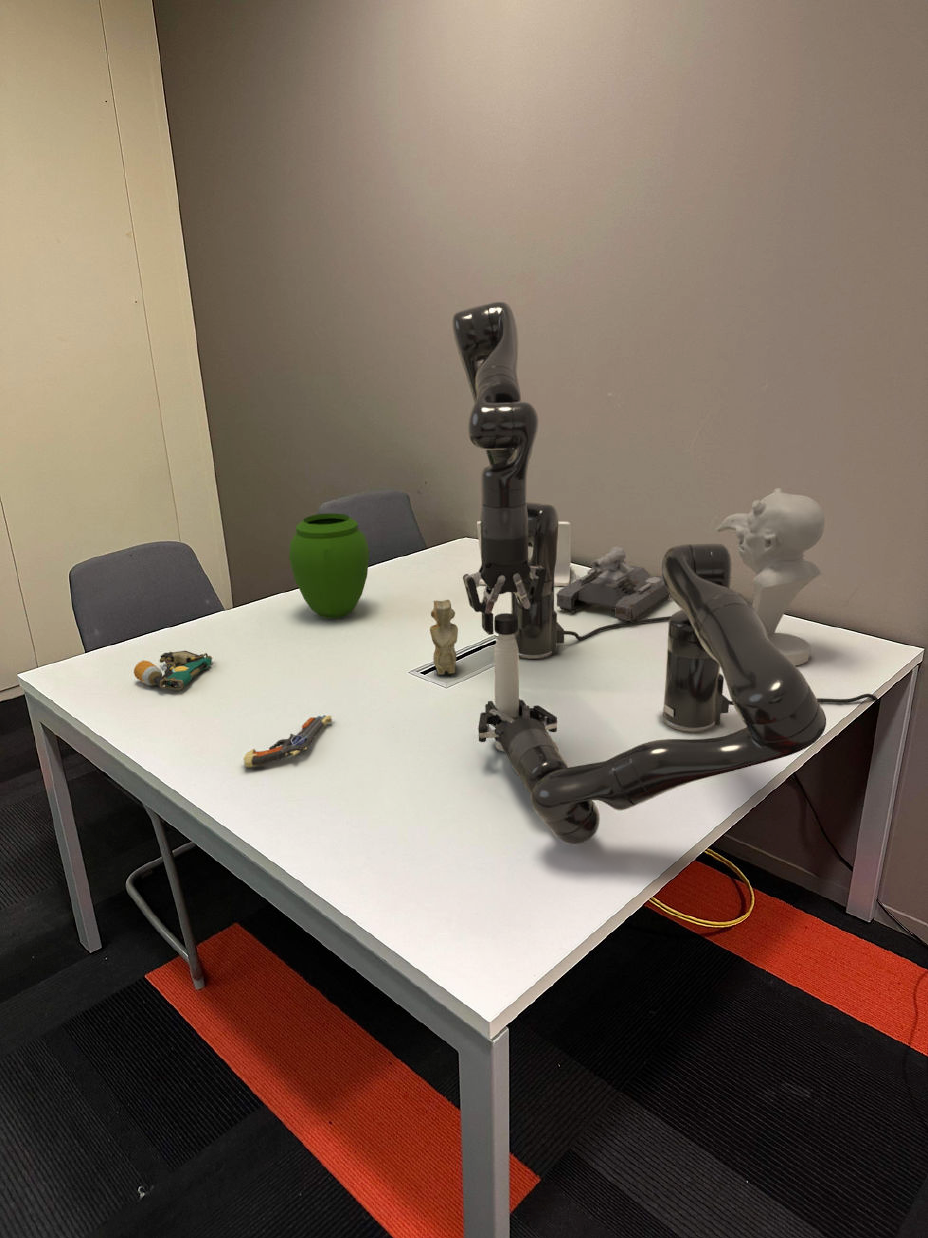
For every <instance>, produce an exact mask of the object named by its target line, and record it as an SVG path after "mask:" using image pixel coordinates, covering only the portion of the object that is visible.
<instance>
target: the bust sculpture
mask: <svg viewBox="0 0 928 1238" xmlns="http://www.w3.org/2000/svg"><path fill="white" fill-rule="evenodd" d="M825 522H826V521H825V513H824V511H823V509H822V508H821V506H820V505H819V504H818V502H816V500H814V499H812V498H811V497H809V496H806V495H802V494H791V493H786V492H784V491H783V489H782V488H780V487H777V488H775V489H774V490H773V492H772V493H770V494H768V495H767V496H765V497H763V498H762V499H761V500H759V499H757V500H754V501H753V502H752V504H751V510H750V512H749V513H743V512H739V513H734V514H730V515H729V516H727V517H726V518H725V519H724V520H723V521H722V522H721V524H719V525H718V526H717V527H716V529H715V530H716V532H718V533H721V532H725V531H729V530H733V531H735V535H736V538H737V539H738V540H739V541H738V542H737V544H736V547H737V550H738V553H739V557H740V558H741V559H742V562H743V563H744V565H746V566H747V567H748V568H750V570H752V572H753V573H755V575H756V576H755V577H754V578H753V580H752V586H753V590H754V592H755V594H756V595H755V597H754V599H753V601H752V603H751V605H752V606H753V608H754V609H755V611H756V612H757V613H758V615H759V616H760V618H761V619H762V621H763V623H764V625H765V628H766V630H767V637H768V639H769V640H770V641H771V643H772V644H773V645H774V646H775V647H776V648H777V649H778V650H779V651H780V652H781V653H782V654H783V655H784V656H785V657H786V658H787V659H788V660H790V661H791V662H792V663H793V664H794V665H795V666H796V667H797V666H800V665H803V664H805V663H806V662H808V661H809V659H810V650H811V645H810V643H809V642H808V641H807V640H806V639H803V638H802V637H800V636H796V635H793V634H789V633H785V632H784V633H783V632H776V630H777V628H778V626H779V623H780V622H781V620H782V618H783V616H784V615H785V613H786V611H788V608H789V607H790V605H791V604H792V603H793V601H794V600H795V598H796V597H797V596H798V594H799V593H800V592H801V591H802V589H804V588H805V587H806V586H807V585H808V584H809V583H811V582H812V581H814V580H815V579H816V578H818V577H820V576H822V575H823V572H822V570H821V569H820V568H819V567H818V565H816V563H814V562H812V561H809V560H805V559H804V557H805V554H804V553H805V552H806V551H808V550H810V549H812V548H813V547H815V546H816V545H817V544H818V543H819V542H820V540H821V539H822V536H823V534H824V531H825Z"/></svg>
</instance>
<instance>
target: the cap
mask: <svg viewBox="0 0 928 1238" xmlns="http://www.w3.org/2000/svg"><path fill="white" fill-rule="evenodd" d="M493 629H494V633H496V634H501V635H511V634H515V633H516V632H517V631H518V619H517V616H516V615H514V614H511V612H510V613H507V612H506V613H505V612H504V613H498V614H496V615H495V616H494V618H493Z"/></svg>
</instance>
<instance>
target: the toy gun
mask: <svg viewBox="0 0 928 1238" xmlns="http://www.w3.org/2000/svg"><path fill="white" fill-rule="evenodd" d="M332 720H333V717H332V716H331V715H325V714H324V715H322V716H321V715H318V716H315V717H313V716H311V717H309V718H308V719H307V720H306V721H305V722H304V723H303V724H302V725H301V731H299V732H298V733H297V734H294V733H290V735H289V737H288V738H281V739H279V740H278V741H276V742H275V743H274V744H272V745H271V746H270V747H268V749H267V750H261V751H256V749H255V748H253V749H250V750H249V751H248V752H247V753H245V755H244V756H243V762H244V768H249V769H250V768H254V767H257V766H260V765H265V764H269V763H271V762H274V761H278V760H281V759H285V758H288V757H290V756H292V757H294V756H296V755H298V754H300V753H301V752H304V751H305V750H307V749H308V748H309V747H310V746H311V744H312V743H313V742H314V740H315V738H316V736H317V735H318V734H319V733H320V731H322V730H323V728H324V727H326V725H327V724H329V723H332Z"/></svg>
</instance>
